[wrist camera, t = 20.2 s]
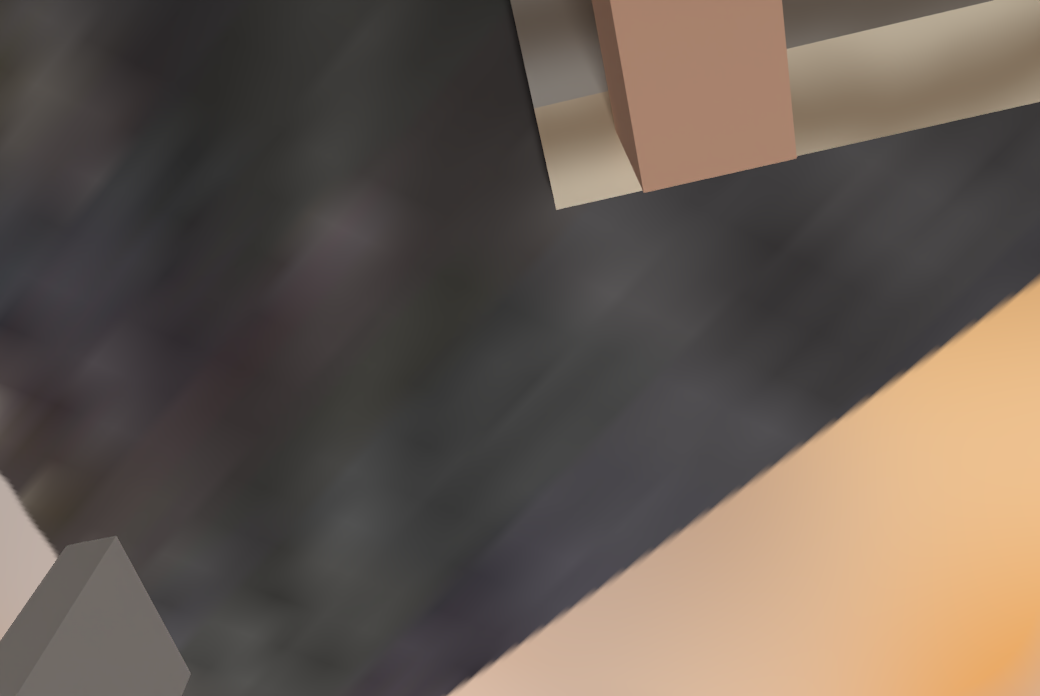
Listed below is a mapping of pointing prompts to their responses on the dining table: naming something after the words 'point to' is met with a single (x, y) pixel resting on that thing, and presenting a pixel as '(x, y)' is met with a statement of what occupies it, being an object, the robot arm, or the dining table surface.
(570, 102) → the board
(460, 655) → the dining table surface
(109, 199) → the dining table surface
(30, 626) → the robot arm
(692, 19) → the block
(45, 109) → the dining table surface
